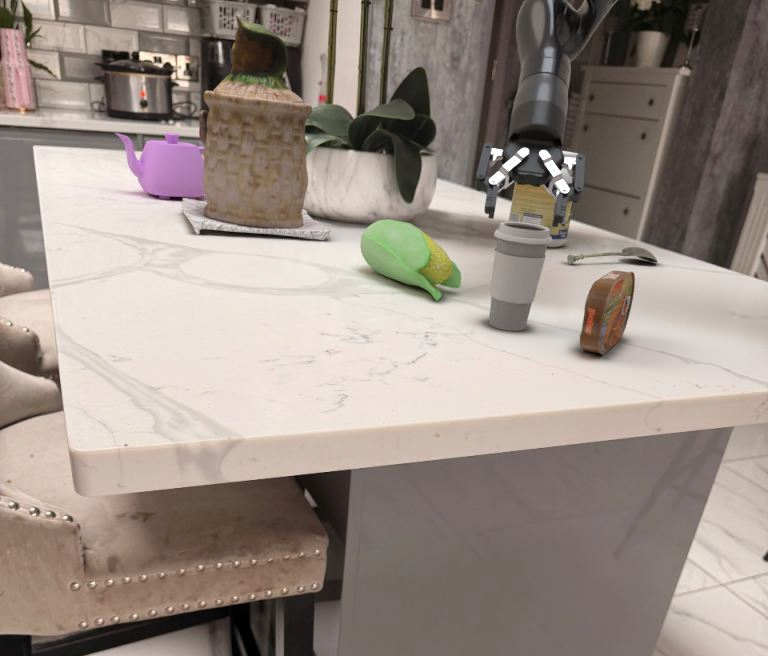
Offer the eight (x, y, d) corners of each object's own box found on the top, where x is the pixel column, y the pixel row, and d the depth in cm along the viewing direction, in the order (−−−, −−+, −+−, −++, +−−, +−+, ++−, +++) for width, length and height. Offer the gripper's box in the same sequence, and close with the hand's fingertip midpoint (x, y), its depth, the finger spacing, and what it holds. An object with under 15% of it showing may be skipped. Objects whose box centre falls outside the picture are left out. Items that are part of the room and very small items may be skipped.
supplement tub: (566, 251, 148) (587, 156, 140) (504, 243, 149) (521, 147, 141) (563, 241, 159) (582, 151, 150) (505, 233, 160) (521, 144, 151)
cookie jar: (334, 241, 133) (348, 25, 117) (188, 234, 125) (183, 2, 110) (306, 216, 153) (315, 29, 137) (179, 209, 146) (174, 10, 130)
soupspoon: (663, 269, 146) (637, 263, 151) (668, 251, 144) (641, 245, 149) (581, 267, 134) (555, 260, 139) (585, 247, 133) (559, 241, 138)
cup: (495, 334, 92) (513, 230, 87) (469, 318, 98) (485, 219, 92) (544, 333, 95) (565, 232, 89) (517, 317, 100) (535, 221, 94)
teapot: (204, 192, 167) (204, 132, 161) (226, 202, 158) (226, 139, 152) (110, 189, 158) (106, 125, 152) (127, 200, 148) (123, 133, 142)
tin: (596, 362, 87) (614, 287, 82) (569, 355, 88) (586, 281, 84) (626, 334, 98) (644, 268, 94) (602, 329, 100) (618, 263, 95)
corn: (401, 233, 119) (486, 265, 105) (372, 277, 120) (452, 315, 106) (368, 200, 113) (454, 230, 99) (338, 247, 114) (419, 283, 100)
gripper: (489, 92, 102) (472, 193, 98) (596, 104, 101) (583, 207, 96) (484, 134, 109) (468, 230, 105) (584, 146, 108) (572, 243, 104)
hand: (523, 219), depth 101 cm, fingers open, 8 cm apart
